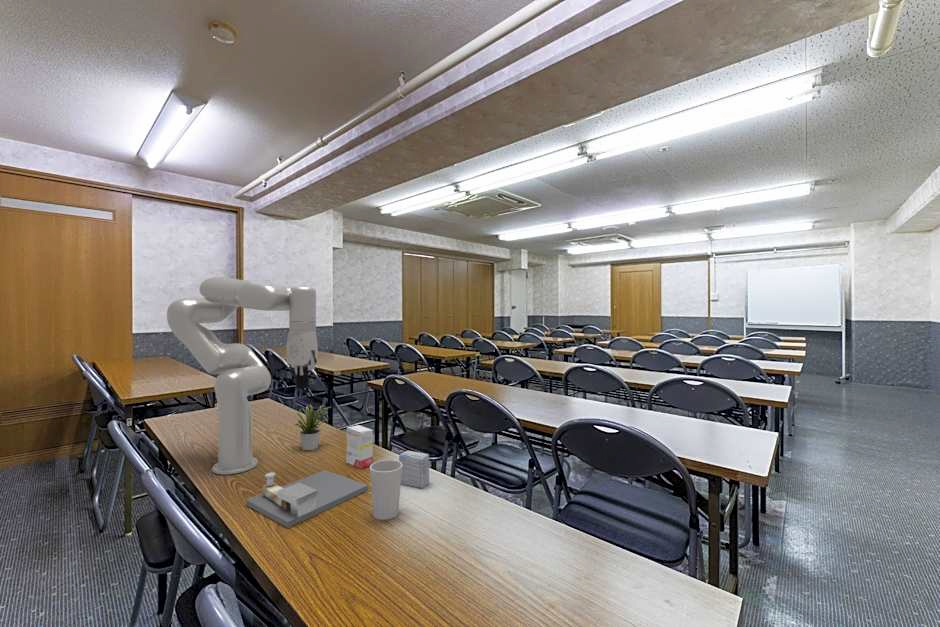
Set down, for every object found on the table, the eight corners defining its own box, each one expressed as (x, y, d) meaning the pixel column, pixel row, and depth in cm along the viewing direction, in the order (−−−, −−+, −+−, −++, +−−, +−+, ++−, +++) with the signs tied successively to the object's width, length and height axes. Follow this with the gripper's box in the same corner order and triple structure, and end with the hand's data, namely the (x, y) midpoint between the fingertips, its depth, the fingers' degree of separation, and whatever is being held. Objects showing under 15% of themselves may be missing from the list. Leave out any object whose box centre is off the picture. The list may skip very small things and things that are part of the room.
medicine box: (429, 483, 119) (429, 453, 119) (421, 489, 115) (421, 458, 115) (407, 478, 122) (407, 449, 122) (398, 484, 118) (398, 454, 118)
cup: (407, 508, 104) (408, 462, 104) (391, 524, 96) (392, 473, 96) (380, 503, 106) (380, 458, 106) (363, 518, 99) (363, 469, 99)
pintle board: (246, 505, 105) (246, 478, 105) (325, 474, 125) (325, 451, 125) (288, 528, 94) (288, 497, 94) (367, 490, 114) (367, 465, 114)
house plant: (342, 446, 150) (342, 403, 150) (309, 458, 138) (309, 410, 138) (317, 440, 157) (317, 398, 157) (284, 450, 146) (284, 405, 146)
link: (260, 493, 107) (260, 485, 107) (273, 489, 110) (273, 481, 110) (284, 510, 98) (284, 501, 98) (299, 505, 101) (299, 496, 101)
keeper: (277, 508, 100) (277, 490, 100) (299, 499, 105) (299, 482, 105) (295, 518, 96) (296, 499, 96) (318, 508, 101) (318, 490, 101)
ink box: (373, 465, 133) (373, 429, 133) (360, 469, 129) (361, 432, 129) (358, 458, 138) (358, 424, 138) (345, 462, 135) (345, 427, 134)
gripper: (277, 327, 124) (277, 387, 124) (306, 328, 115) (306, 393, 115) (299, 326, 130) (299, 383, 130) (328, 327, 121) (328, 388, 122)
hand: (302, 387), depth 123 cm, fingers closed
